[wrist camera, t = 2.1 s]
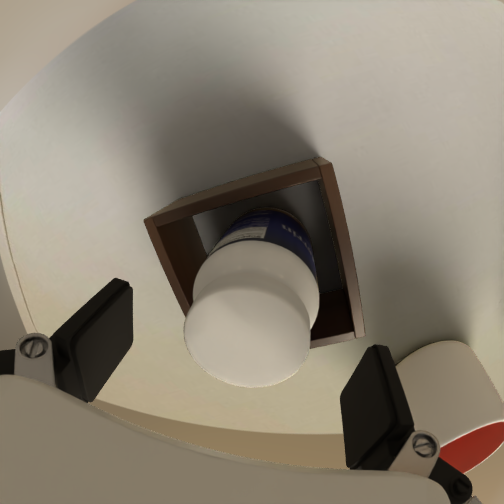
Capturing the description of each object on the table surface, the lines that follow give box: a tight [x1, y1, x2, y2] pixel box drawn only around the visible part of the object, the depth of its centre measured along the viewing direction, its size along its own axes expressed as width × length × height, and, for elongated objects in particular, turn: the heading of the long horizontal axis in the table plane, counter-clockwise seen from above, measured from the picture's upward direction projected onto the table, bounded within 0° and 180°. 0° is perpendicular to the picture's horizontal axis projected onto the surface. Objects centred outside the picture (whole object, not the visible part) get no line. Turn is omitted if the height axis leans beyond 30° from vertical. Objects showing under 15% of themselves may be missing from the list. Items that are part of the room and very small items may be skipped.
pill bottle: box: [184, 208, 319, 387], centre depth 15 cm, size 6×6×10 cm
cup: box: [396, 341, 504, 474], centre depth 17 cm, size 10×10×10 cm
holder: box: [144, 157, 366, 349], centre depth 17 cm, size 10×10×5 cm
